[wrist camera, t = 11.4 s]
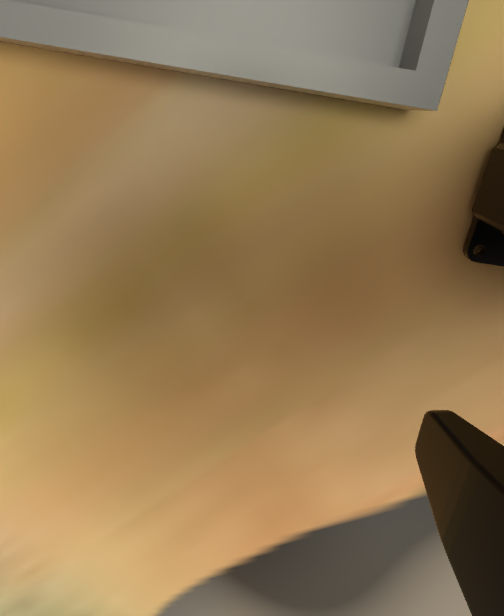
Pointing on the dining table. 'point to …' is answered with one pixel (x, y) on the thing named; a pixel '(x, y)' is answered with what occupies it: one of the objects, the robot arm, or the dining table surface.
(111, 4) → the grey square tray
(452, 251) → the dining table surface
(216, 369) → the dining table surface
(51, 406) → the dining table surface
